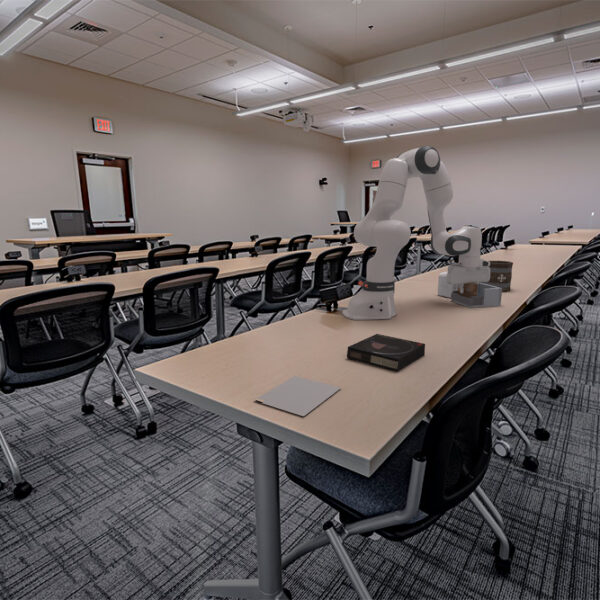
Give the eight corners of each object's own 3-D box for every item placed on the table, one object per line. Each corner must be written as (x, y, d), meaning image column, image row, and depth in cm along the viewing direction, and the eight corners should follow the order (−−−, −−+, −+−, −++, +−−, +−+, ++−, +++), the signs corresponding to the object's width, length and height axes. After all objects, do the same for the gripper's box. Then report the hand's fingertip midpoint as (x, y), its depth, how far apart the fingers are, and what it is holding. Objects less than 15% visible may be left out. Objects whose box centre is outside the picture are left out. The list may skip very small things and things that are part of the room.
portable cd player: (346, 360, 119) (346, 347, 118) (376, 345, 132) (376, 333, 131) (396, 374, 108) (397, 359, 108) (424, 356, 121) (425, 343, 120)
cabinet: (470, 308, 176) (471, 290, 174) (450, 301, 190) (451, 284, 189) (500, 305, 179) (502, 288, 178) (478, 299, 194) (480, 282, 192)
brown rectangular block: (470, 302, 179) (471, 284, 177) (456, 297, 188) (457, 280, 186) (476, 301, 179) (477, 284, 178) (462, 297, 189) (463, 280, 187)
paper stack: (224, 393, 98) (223, 391, 98) (284, 361, 118) (284, 359, 118) (303, 419, 85) (303, 416, 85) (356, 378, 105) (356, 376, 105)
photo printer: (458, 298, 197) (460, 273, 194) (452, 299, 195) (453, 273, 192) (442, 294, 206) (443, 270, 203) (436, 295, 204) (437, 271, 201)
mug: (511, 289, 216) (513, 261, 213) (509, 293, 205) (512, 264, 202) (471, 286, 226) (473, 259, 223) (468, 290, 215) (470, 262, 211)
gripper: (452, 264, 175) (450, 295, 178) (493, 262, 179) (490, 292, 182) (444, 262, 181) (442, 292, 184) (484, 260, 185) (481, 290, 188)
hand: (467, 292), depth 183 cm, fingers closed on brown rectangular block, 3 cm apart
